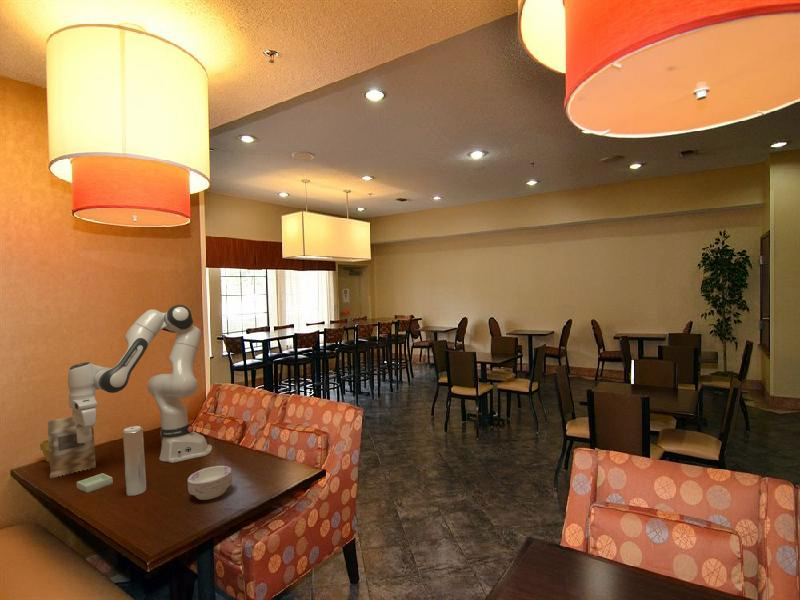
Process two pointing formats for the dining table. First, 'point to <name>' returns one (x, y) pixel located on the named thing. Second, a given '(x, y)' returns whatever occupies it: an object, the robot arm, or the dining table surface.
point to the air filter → (134, 460)
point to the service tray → (94, 483)
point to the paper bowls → (210, 482)
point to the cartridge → (80, 435)
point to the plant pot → (45, 449)
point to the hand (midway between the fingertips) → (84, 434)
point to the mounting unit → (68, 448)
